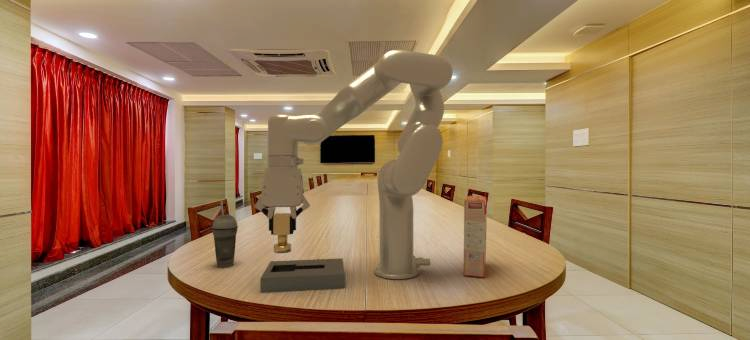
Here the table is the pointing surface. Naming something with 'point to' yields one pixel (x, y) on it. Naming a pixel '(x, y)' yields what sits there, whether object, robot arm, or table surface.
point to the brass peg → (282, 232)
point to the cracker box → (475, 236)
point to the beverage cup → (224, 239)
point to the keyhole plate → (303, 275)
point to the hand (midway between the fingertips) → (282, 232)
